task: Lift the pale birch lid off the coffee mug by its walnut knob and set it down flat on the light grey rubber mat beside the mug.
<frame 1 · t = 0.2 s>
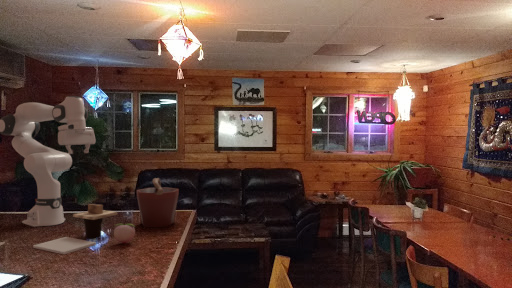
hand: (78, 153, 202), 39 cm above the counter, tool pointing down, fingers open, 8 cm apart
coffee mug: (95, 236, 188), on the counter, touching birch lid
bucket: (156, 224, 215), on the counter
rubber mat: (65, 246, 171), on the counter
birch lid: (95, 215, 188), point 10 cm above the counter, touching coffee mug
decorative fruit: (124, 244, 175), on the counter
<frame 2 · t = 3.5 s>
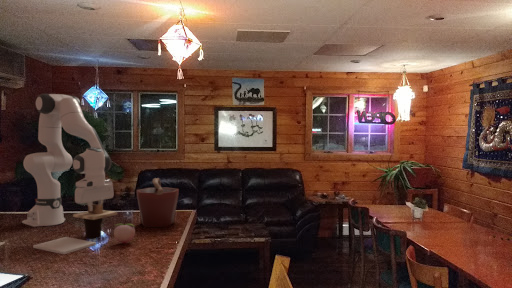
hand: (95, 210, 188), 13 cm above the counter, tool pointing down, fingers closed on birch lid, 3 cm apart
birch lid: (95, 215, 188), point 10 cm above the counter, touching coffee mug, gripper
everything else where it was.
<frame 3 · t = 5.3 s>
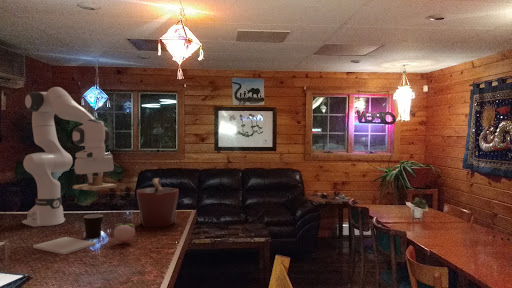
hand: (95, 182, 187), 26 cm above the counter, tool pointing down, fingers closed on birch lid, 3 cm apart
coffee mug: (95, 236, 188), on the counter
birch lid: (95, 187, 188), point 23 cm above the counter, touching gripper
everything else where it was.
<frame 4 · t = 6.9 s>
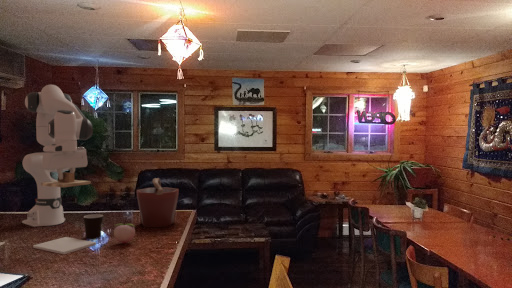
hand: (66, 178, 171), 30 cm above the counter, tool pointing down, fingers closed on birch lid, 3 cm apart
birch lid: (66, 184, 171), point 27 cm above the counter, touching gripper
everything else where it was.
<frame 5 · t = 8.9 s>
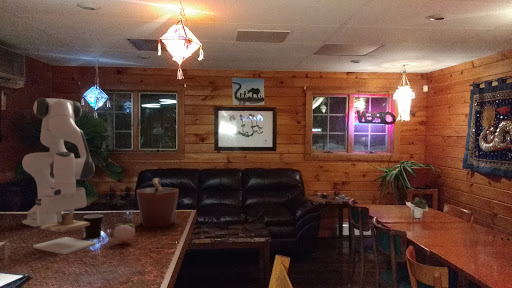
hand: (65, 220, 171), 11 cm above the counter, tool pointing down, fingers closed on birch lid, 3 cm apart
birch lid: (65, 226, 171), point 9 cm above the counter, touching gripper
everything else where it was.
when the fingers open (5 cm above the counter, at t = 10.5 s): birch lid drops 1 cm, resting on rubber mat.
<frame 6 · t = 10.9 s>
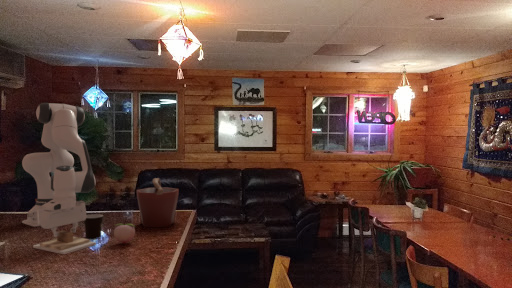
hand: (64, 234, 171), 5 cm above the counter, tool pointing down, fingers open, 7 cm apart
birch lid: (65, 243, 171), point 1 cm above the counter, touching rubber mat
everything else where it was.
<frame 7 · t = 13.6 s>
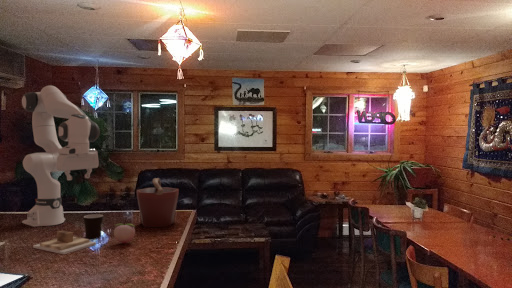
hand: (78, 179, 182), 28 cm above the counter, tool pointing down, fingers open, 8 cm apart
nothing on the counter moved.
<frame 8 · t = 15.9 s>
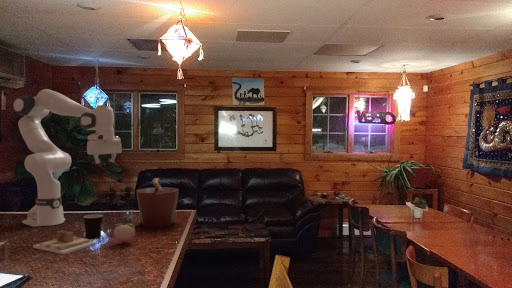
hand: (105, 162, 205), 34 cm above the counter, tool pointing down, fingers open, 8 cm apart
nothing on the counter moved.
at the end: birch lid inside the target area on the rubber mat (0.0 cm from its centre), point 1.0 cm above the rubber mat's base; the gripper is holding nothing; coffee mug moved 0.2 cm from its start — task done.
